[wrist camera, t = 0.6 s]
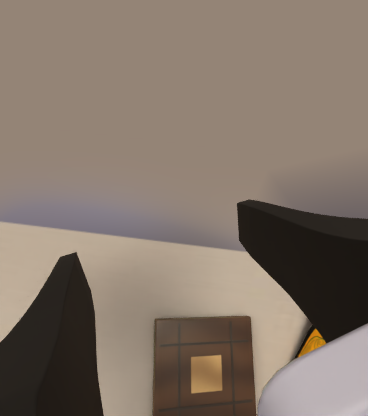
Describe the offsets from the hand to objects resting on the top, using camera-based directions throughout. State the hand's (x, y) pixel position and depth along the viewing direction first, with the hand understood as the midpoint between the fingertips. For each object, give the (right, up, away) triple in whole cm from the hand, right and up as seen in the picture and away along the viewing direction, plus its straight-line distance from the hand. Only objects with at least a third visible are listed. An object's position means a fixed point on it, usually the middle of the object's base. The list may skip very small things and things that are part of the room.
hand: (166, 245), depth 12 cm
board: (+3, -19, +25) cm, 31 cm away
